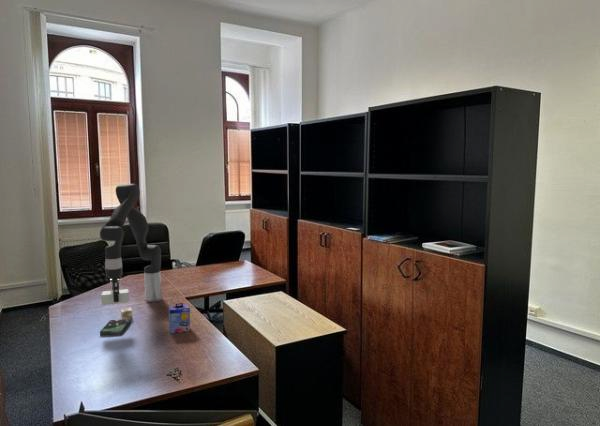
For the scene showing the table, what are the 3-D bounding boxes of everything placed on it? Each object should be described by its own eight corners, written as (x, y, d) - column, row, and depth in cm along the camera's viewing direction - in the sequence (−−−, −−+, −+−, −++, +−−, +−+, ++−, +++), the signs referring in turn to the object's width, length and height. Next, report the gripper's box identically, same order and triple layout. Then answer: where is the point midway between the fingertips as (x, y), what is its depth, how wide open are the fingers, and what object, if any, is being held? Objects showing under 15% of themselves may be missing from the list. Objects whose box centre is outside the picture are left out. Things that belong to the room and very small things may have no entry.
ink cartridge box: (170, 334, 206) (169, 305, 204) (168, 329, 211) (167, 301, 209) (190, 331, 210) (190, 302, 208) (189, 326, 215) (188, 299, 213)
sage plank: (129, 298, 214) (128, 289, 213) (128, 302, 208) (128, 292, 208) (102, 301, 210) (102, 291, 209) (101, 305, 204) (101, 295, 204)
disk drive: (110, 325, 218) (99, 336, 203) (109, 319, 218) (99, 331, 203) (131, 324, 219) (122, 335, 205) (130, 319, 219) (122, 330, 204)
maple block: (131, 316, 229) (130, 307, 228) (132, 319, 224) (132, 310, 224) (121, 318, 226) (120, 309, 225) (122, 321, 222) (121, 312, 221)
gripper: (123, 269, 202) (125, 303, 205) (120, 262, 215) (122, 294, 217) (106, 271, 199) (108, 305, 201) (104, 264, 211) (106, 296, 213)
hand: (115, 299), depth 209 cm, fingers closed on sage plank, 6 cm apart
